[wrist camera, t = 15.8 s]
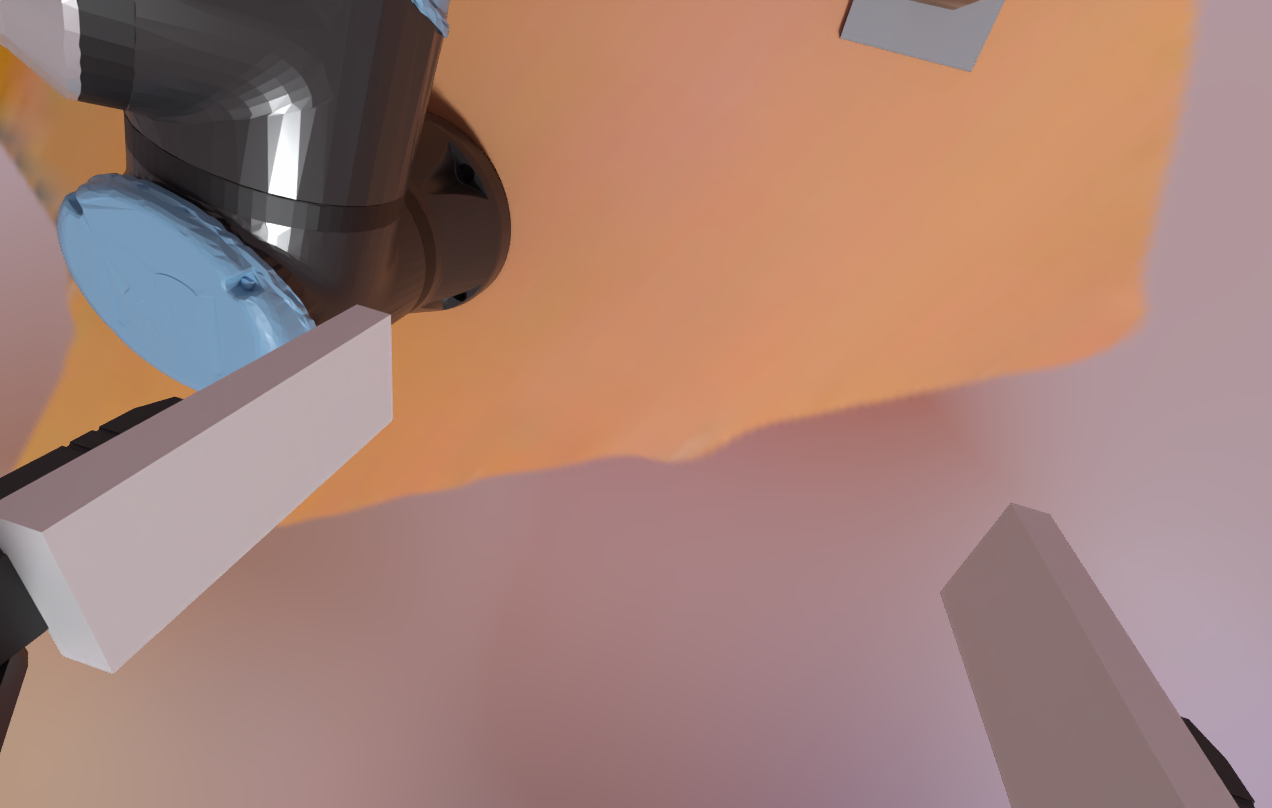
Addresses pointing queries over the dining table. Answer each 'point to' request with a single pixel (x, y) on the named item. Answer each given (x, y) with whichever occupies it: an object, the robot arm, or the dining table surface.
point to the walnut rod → (947, 3)
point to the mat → (923, 29)
